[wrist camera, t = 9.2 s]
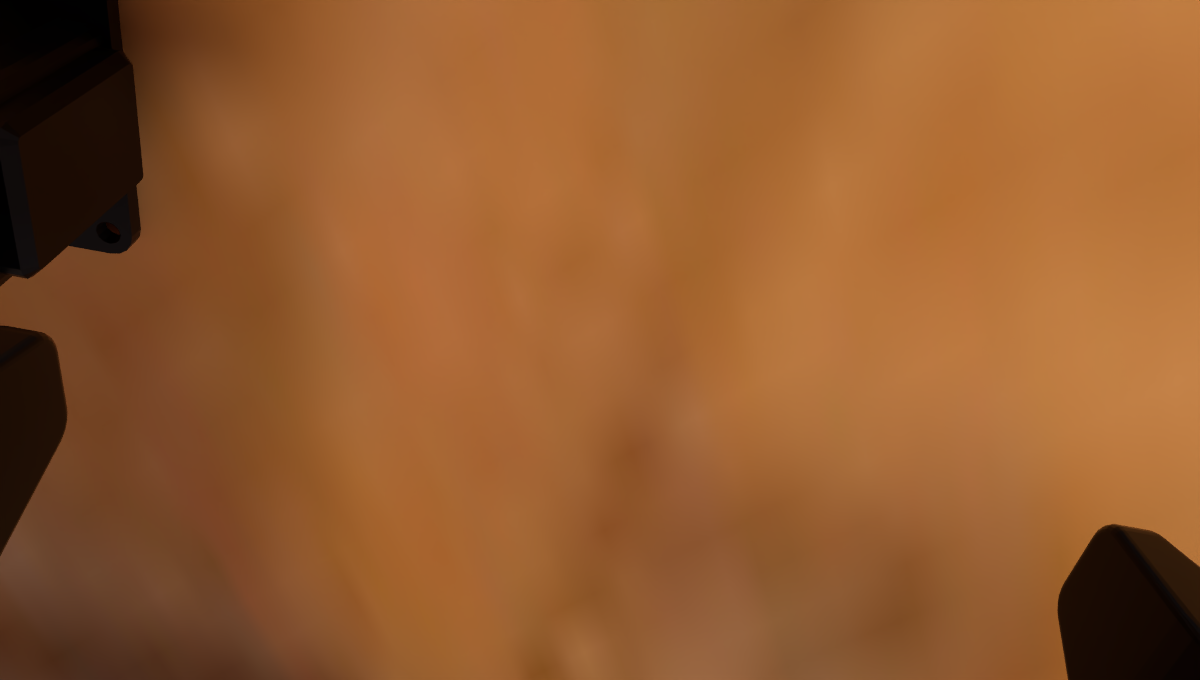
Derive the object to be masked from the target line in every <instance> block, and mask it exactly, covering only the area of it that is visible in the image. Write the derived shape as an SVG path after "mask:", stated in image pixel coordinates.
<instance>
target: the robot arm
mask: <svg viewBox="0 0 1200 680" xmlns="http://www.w3.org/2000/svg"><path fill="white" fill-rule="evenodd" d="M142 178H143V168H142V158H141V147H140V137H139V127H138V116H137V106H136V96H135V85H134V75H133V66H132V64H131V62H130V61H129V59H128V58H127V56H126V55H125V54H124V53H123V49H122V39H121V30H120V20H119V10H118V0H0V286H1V285H2V284H3V283H5V282H6V281H7V280H8V279H9V278H10V277H12V276H16V277H22V278H27V279H28V278H30V277H33V276H34V275H35V274H37V273H38V272H39V271H40V270H42V269H43V268H44V267H45V266H46V265H47V264H49V263H50V262H51V261H52V260H53V259H54V258H55V257H56V256H57V255H59V254H60V253H61V252H62V251H63V250H64V249H65V248H66V247H67V246H73V247H79V248H84V249H90V250H95V251H101V252H106V253H122V252H124V251H127V250H128V249H129V248H130V247H131V246H132V245H133V244H134V243H135V242H136V240H137V239H138V238H139V236H140V230H141V226H140V217H139V207H138V197H137V187H136V185H137V184H138V183H139V182H140V181H141V180H142ZM105 222H108V223H111V224H113V225H114V226H115V227H116V228H117V229H118V230H119V232H120V235H118V234H115V233H113V232H111V231H110V230H109V229H108V228H107V225H106V223H105ZM66 423H67V405H66V399H65V393H64V387H63V381H62V375H61V369H60V363H59V357H58V352H57V348H56V345H55V343H54V341H53V340H52V338H51V337H50V336H48V335H46V334H45V333H42V332H37V331H32V330H26V329H21V328H15V327H9V326H0V556H1V554H2V552H3V550H4V548H5V546H6V544H7V542H8V540H9V539H10V537H11V535H12V533H13V531H14V529H15V527H16V525H17V523H18V522H19V520H20V518H21V516H22V514H23V512H24V510H25V508H26V506H27V504H28V503H29V501H30V499H31V497H32V495H33V493H34V491H35V489H36V487H37V485H38V484H39V482H40V480H41V478H42V476H43V474H44V472H45V470H46V468H47V466H48V465H49V463H50V461H51V459H52V457H53V455H54V453H55V451H56V449H57V447H58V446H59V444H60V442H61V439H62V437H63V435H64V432H65V428H66ZM1058 619H1059V626H1060V632H1061V638H1062V645H1063V651H1064V657H1065V663H1066V670H1067V676H1068V680H1200V567H1199V566H1198V565H1197V564H1195V563H1194V562H1193V561H1192V560H1190V559H1189V558H1188V557H1187V556H1185V555H1184V554H1183V553H1182V552H1181V551H1179V550H1178V549H1177V548H1176V547H1174V546H1173V545H1172V544H1171V543H1169V542H1168V541H1167V540H1166V539H1165V538H1163V537H1162V536H1161V535H1159V534H1157V533H1155V532H1153V531H1149V530H1145V529H1139V528H1134V527H1128V526H1122V525H1117V524H1111V525H1106V526H1104V527H1102V528H1101V529H1099V530H1098V531H1097V532H1096V533H1095V535H1094V536H1093V538H1092V539H1091V541H1090V542H1089V544H1088V546H1087V547H1086V549H1085V550H1084V552H1083V554H1082V555H1081V557H1080V558H1079V560H1078V562H1077V563H1076V565H1075V566H1074V568H1073V570H1072V571H1071V573H1070V574H1069V576H1068V578H1067V579H1066V581H1065V582H1064V584H1063V586H1062V589H1061V591H1060V594H1059V599H1058Z"/></svg>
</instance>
